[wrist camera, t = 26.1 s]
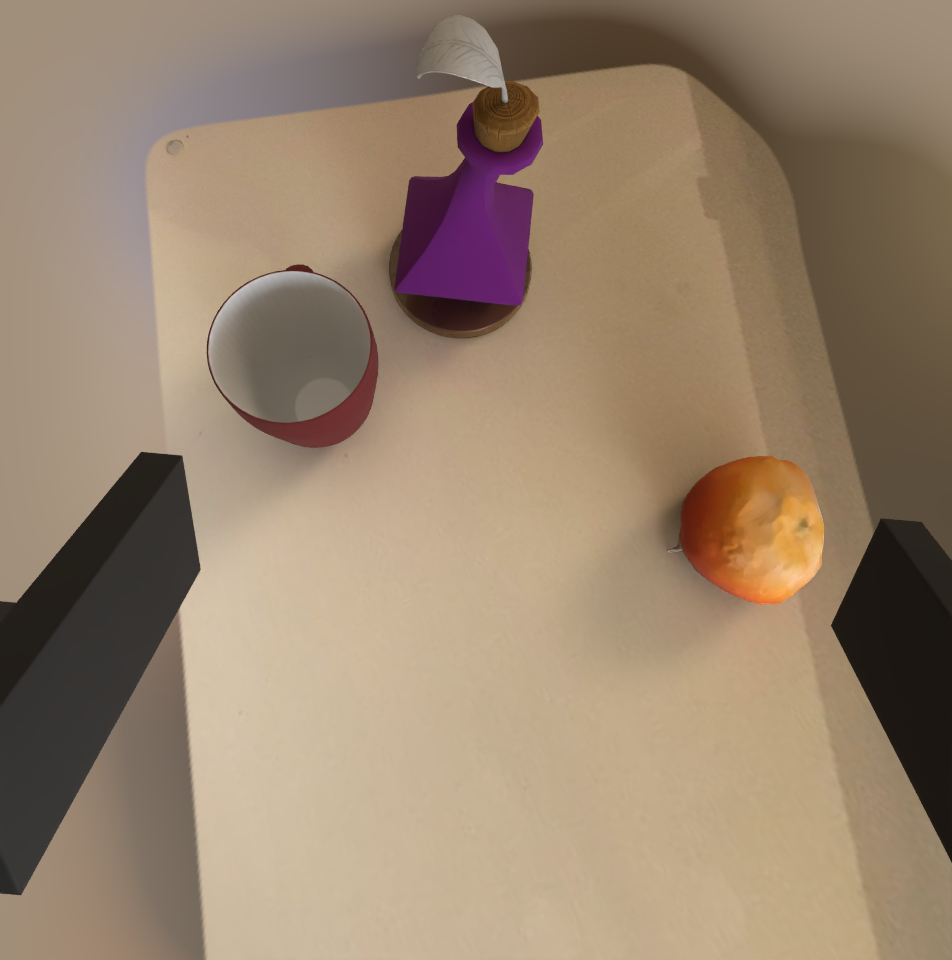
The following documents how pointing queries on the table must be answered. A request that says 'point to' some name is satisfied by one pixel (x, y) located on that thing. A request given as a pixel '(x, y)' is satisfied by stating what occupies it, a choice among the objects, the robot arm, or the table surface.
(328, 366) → the mug
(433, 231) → the perfume bottle
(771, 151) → the table surface
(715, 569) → the fruit
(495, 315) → the coaster
